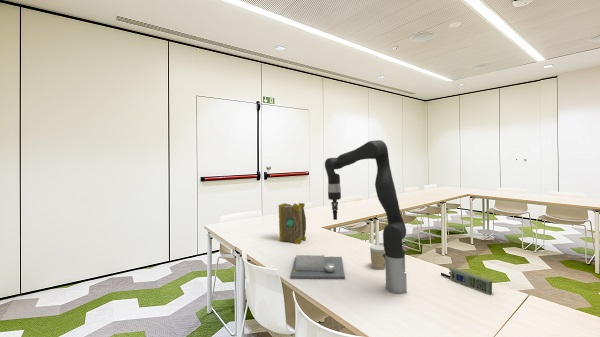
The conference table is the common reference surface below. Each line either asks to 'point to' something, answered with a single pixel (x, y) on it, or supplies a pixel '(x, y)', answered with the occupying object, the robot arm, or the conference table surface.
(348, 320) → the conference table surface
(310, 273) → the dial plate
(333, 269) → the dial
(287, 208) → the decorative book
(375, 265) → the coffee cup
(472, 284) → the handheld radio
